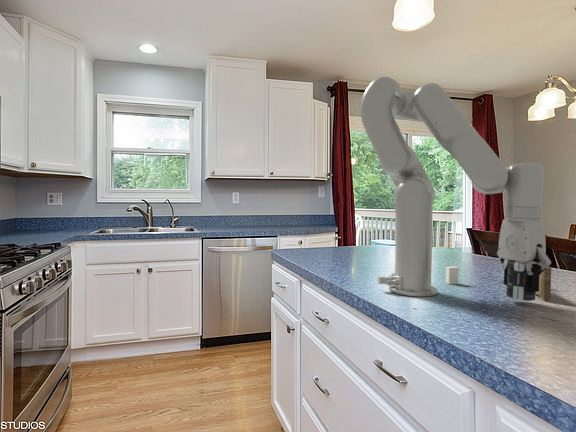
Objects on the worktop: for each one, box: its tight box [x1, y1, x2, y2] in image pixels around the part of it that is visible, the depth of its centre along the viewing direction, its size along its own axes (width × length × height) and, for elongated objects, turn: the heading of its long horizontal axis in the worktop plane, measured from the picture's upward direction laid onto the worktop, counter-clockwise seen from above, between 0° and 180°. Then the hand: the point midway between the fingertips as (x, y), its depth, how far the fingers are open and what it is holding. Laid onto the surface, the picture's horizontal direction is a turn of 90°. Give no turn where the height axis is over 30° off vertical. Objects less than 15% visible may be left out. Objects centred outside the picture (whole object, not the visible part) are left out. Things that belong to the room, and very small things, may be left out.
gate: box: [536, 266, 552, 301], centre depth 97 cm, size 18×2×8 cm, turn 167°
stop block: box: [444, 266, 460, 285], centre depth 108 cm, size 3×2×5 cm, turn 97°
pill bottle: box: [506, 260, 537, 302], centre depth 86 cm, size 6×6×11 cm
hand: (520, 287), depth 86 cm, fingers closed on pill bottle, 6 cm apart
